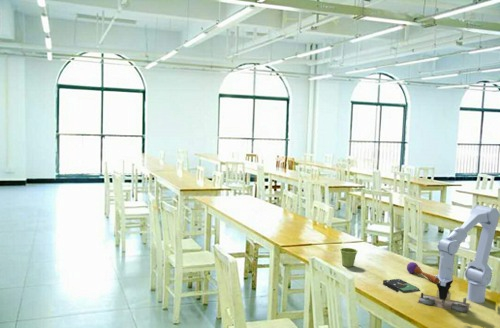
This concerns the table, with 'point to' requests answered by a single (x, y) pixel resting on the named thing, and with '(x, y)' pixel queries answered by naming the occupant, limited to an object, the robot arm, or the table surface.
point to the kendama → (420, 272)
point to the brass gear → (446, 297)
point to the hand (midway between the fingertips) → (443, 297)
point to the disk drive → (400, 285)
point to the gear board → (444, 303)
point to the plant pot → (348, 256)
